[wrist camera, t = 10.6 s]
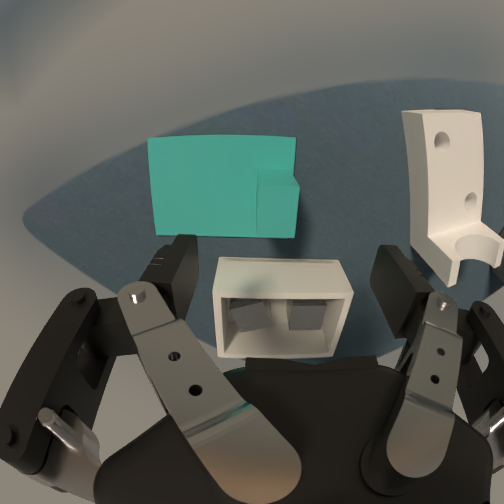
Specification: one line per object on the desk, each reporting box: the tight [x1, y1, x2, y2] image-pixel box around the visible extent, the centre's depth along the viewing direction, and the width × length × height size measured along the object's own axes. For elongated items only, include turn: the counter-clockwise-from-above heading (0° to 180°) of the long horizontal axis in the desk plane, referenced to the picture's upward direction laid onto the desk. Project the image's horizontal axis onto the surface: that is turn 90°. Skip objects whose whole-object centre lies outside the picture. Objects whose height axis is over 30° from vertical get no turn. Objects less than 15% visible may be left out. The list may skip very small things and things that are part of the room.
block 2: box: [286, 299, 327, 330], centre depth 25 cm, size 3×3×3 cm
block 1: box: [229, 298, 272, 333], centre depth 25 cm, size 3×3×3 cm
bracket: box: [401, 110, 504, 287], centre depth 17 cm, size 13×7×8 cm, turn 15°
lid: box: [148, 135, 300, 238], centre depth 19 cm, size 12×9×6 cm
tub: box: [213, 257, 354, 359], centre depth 25 cm, size 11×8×5 cm
